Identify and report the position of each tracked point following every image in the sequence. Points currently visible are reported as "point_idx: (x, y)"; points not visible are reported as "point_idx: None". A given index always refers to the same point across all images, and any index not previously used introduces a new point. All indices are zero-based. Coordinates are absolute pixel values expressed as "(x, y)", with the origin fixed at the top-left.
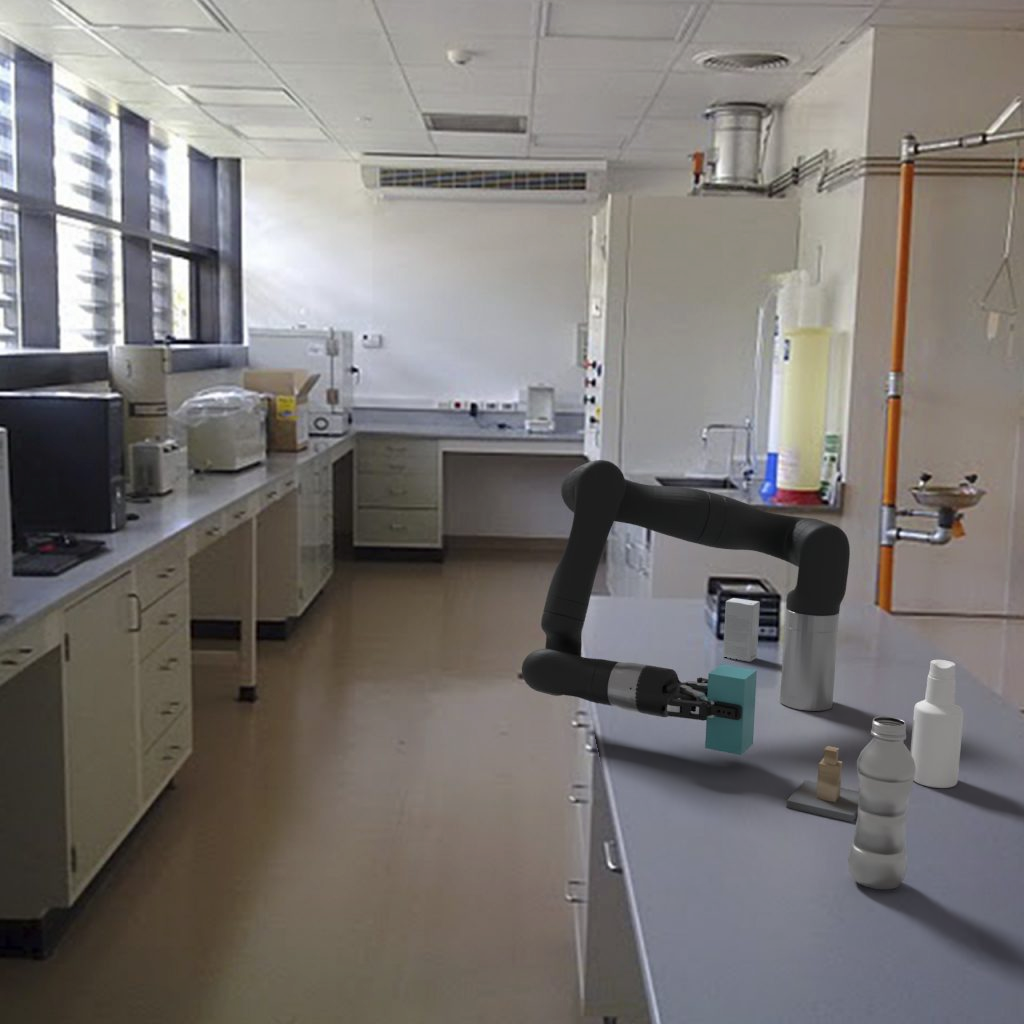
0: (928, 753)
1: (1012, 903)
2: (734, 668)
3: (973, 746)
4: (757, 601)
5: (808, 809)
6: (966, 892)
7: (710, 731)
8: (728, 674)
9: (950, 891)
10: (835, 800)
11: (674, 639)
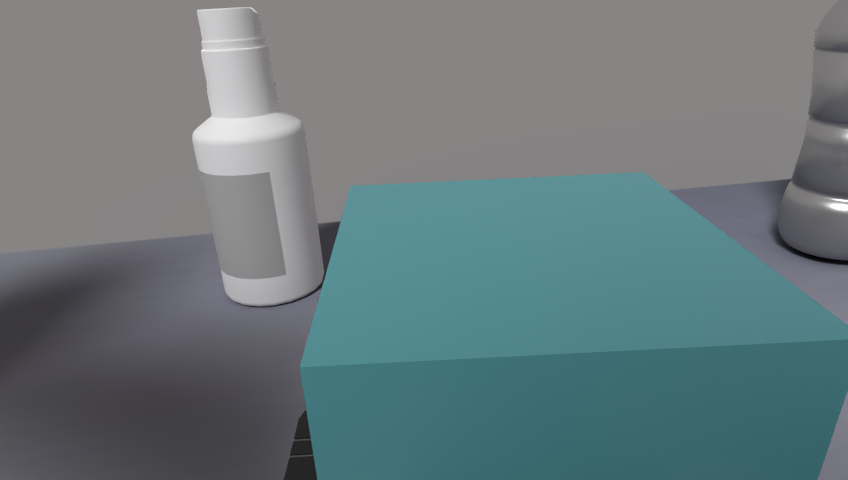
0: (313, 216)
1: (678, 190)
2: (400, 254)
3: (24, 280)
4: None
5: None
6: (705, 208)
7: None
8: (648, 233)
9: (724, 214)
10: None
11: None
